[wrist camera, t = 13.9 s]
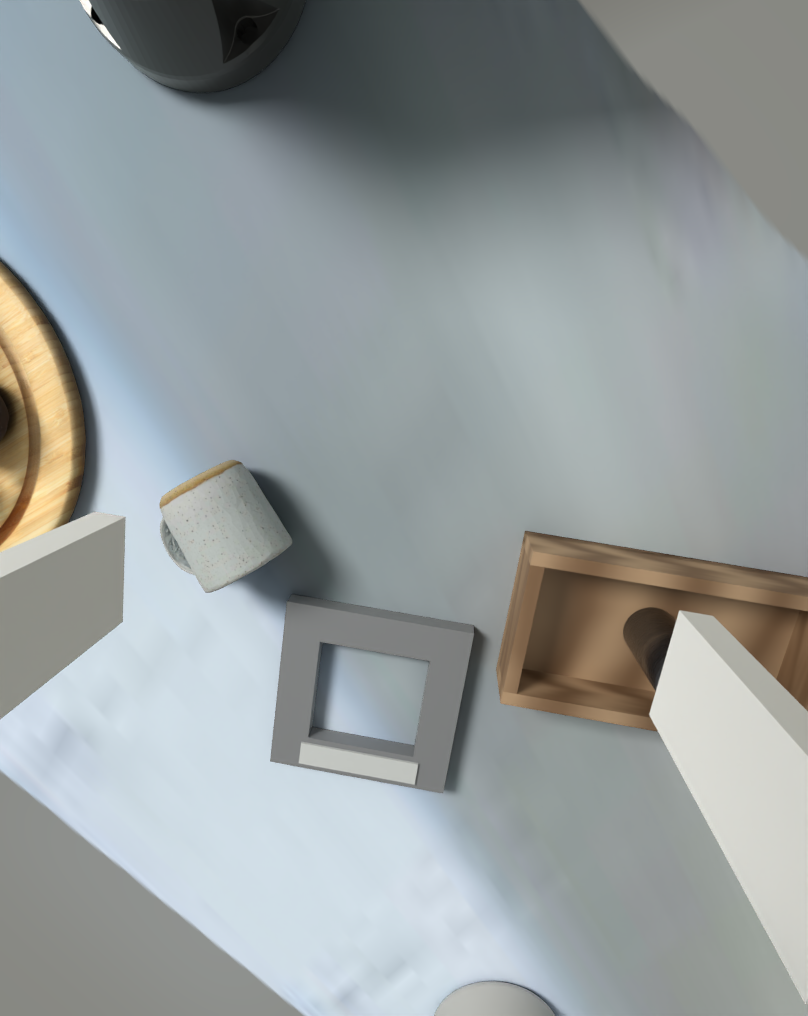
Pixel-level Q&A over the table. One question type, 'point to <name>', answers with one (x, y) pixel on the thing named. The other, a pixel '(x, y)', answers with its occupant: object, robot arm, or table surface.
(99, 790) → the table surface
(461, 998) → the cylinder vase
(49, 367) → the wooden plate with food
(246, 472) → the ceramic mug
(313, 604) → the grey flat square frame
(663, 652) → the battery cell
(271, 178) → the table surface
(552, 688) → the walnut trough
